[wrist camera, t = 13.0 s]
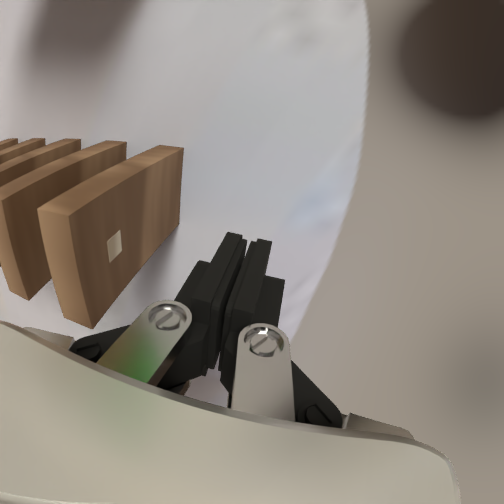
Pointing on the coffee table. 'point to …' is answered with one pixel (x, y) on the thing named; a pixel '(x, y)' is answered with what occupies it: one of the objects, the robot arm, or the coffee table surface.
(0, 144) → the domino
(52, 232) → the domino
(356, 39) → the coffee table surface
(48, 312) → the coffee table surface
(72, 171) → the domino
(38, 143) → the domino
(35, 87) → the coffee table surface
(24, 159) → the domino
